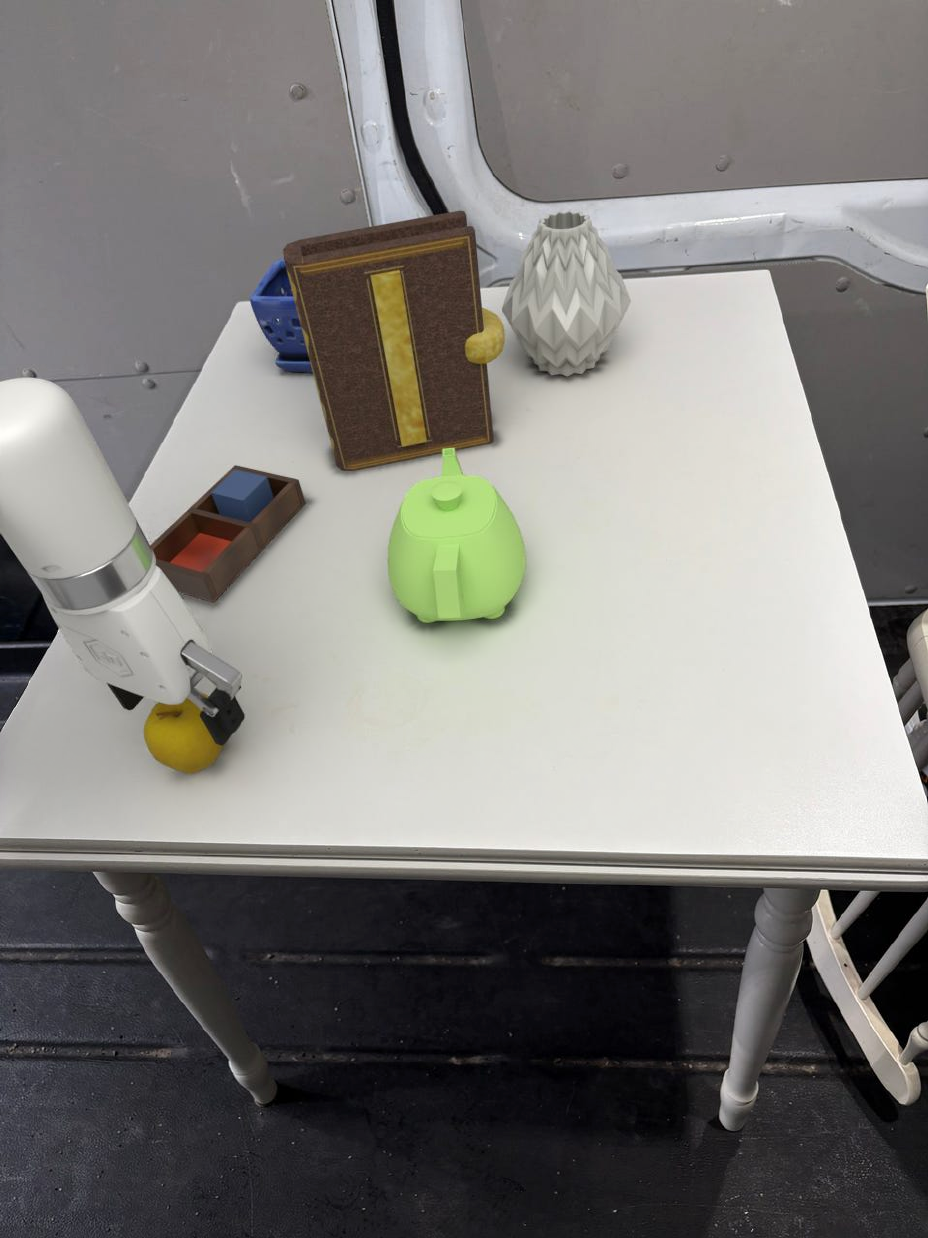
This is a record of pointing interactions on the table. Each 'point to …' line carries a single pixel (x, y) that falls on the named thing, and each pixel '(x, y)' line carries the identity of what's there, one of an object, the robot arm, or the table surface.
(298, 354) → the flower pot
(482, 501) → the teapot
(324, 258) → the book
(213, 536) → the tray
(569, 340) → the vase
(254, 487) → the blue block
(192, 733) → the apple
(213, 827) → the table surface
